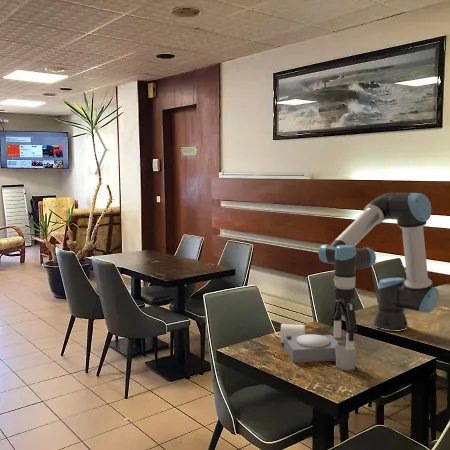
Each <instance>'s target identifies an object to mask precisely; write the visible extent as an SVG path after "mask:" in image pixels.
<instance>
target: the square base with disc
mask: <svg viewBox="0 0 450 450" xmlns="http://www.w3.org/2000/svg"><path fill="white" fill-rule="evenodd" d="M337 342H338V340H337V339H336V338H334V335H332V334H324V335H323V334H321V335H320V334H313V333H312V334H309V333H308V334H307V333H306V334H305V335H301V336H297V337H291V336H290V335H287V336H286V337H284V343H283V350H284V351H285V353H286V354H287V356H288V357H289V359H290V361H291V362H292V363H312V362H326V361H327V362H329V361H330V362H331V361H336V356H335V345H336V343H337Z"/></svg>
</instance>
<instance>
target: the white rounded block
mask: <svg viewBox="0 0 450 450" xmlns="http://www.w3.org/2000/svg"><path fill="white" fill-rule="evenodd" d="M287 335H290V336H291V337H297V336H301V335H306V325H305V324H290V323H289V324H288V323H281V324H280V343H281V344H284V337H286V336H287Z"/></svg>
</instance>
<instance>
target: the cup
mask: <svg viewBox="0 0 450 450" xmlns="http://www.w3.org/2000/svg"><path fill="white" fill-rule="evenodd" d="M337 341H338V340H337ZM335 356H336V360H335V366H336V368H337V369H338V370H342V371H353V370H355V369H356V368H357V367H356V366H357V343H356V342H354V350H347V349H346V340H339V341H338V342H337V343H336V345H335Z"/></svg>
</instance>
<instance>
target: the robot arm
mask: <svg viewBox="0 0 450 450" xmlns="http://www.w3.org/2000/svg"><path fill="white" fill-rule="evenodd" d="M431 213H432V204H431V201H430V199H429V198H428V197H427V196H426V194H423V193H419V192H387V193H383V194H381V195H379V196H378V197H376V198H374V199H373V200H372V201H369V203H367V204H366V206H365V207H364V208H363V212H362V213H361V214H360V215H359V216H358V217H357V218H355V220H354V221H353V222H352V223H351V224H349V225H348V226H347V228H345V230H343V231H342V233H340V235H338V236H337V237H336V238H335V239H334V240H333V241H332V242H331V243H330V244H329V243H327V244H321V246H319V248H318V253H317V254H318V259H319V260H320V261H321V263H326V264H329V265H330V264H331V265H334V278H333V279H332V280H333V282H334V289H333V296H334V303H333V308H332V312H331V318H332V319H333V337H334V338H335V339H336V338H342V321H343V318H342V316H344V322H345V325H346V330H345V333H346V334H345V335H346V337H345V338H346V340H345V341H346V349H347V350H354V343H355V333H358V326H357V318H356V312H355V304H354V303H351V300H353V299H355V298H356V289H355V287H356V270H362V269H367V268H369V267H372V266H373V265H374V264H375V263H376V260H377V256H376V252H375V251H374V250H373V249H372V248H370V247H356V246H357V245H358V243H360V242H361V240H362V239H364V238H365V237H366V236H367V234H369V232H371V230H373V228H374V227H376V225H379V224H381V223H383V221H386V220H396V223H397V227H398V228H400V229H401V232H402V233H401V234H402V243H403V244H402V245H403V253H404V254H403V255H404V261H405V272H406V279H405V278H403V277H387V278H382V279H380V280H379V282H378V286H377V311H376V314H375V316H374V319H373V326H374V325H375V326H377V327H379V328H384V329H389V330H401V329H405V328H407V327H408V326H409V323H408V320H407V317H406V314H405V309H406V310H409V311H416V312H419V313H424V314H429V313H431V312H433V311H434V310H435V308H436V307H437V305H438V303H439V298H440V292H439V289H438V288H437V287H435V286H433V281H432V280H431V278H429V277H428V276H429V275H428V265H427V254H426V253H427V251H426V244H425V235H424V234H425V233H424V228H425V225H427V221H429V219H430V218H431V216H432V215H431Z"/></svg>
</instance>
